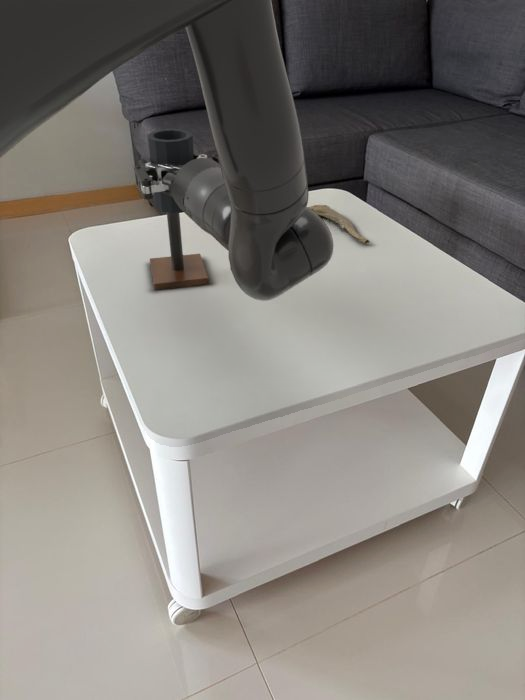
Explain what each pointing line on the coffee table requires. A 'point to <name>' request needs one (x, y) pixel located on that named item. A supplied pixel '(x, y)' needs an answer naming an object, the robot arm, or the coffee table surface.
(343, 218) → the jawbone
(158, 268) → the stand
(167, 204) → the sleeve
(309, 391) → the coffee table surface
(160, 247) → the coffee table surface
